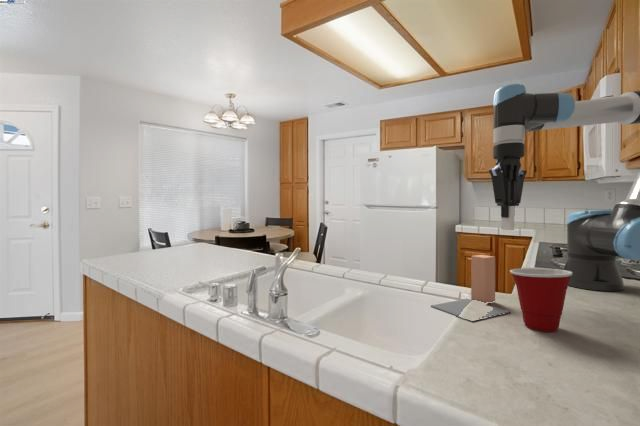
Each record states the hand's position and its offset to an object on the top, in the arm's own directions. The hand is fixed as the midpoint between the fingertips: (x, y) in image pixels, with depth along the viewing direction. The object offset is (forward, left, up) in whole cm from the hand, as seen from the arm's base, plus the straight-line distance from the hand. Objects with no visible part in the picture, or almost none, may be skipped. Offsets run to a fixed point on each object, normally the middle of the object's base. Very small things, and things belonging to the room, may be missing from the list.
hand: (507, 229), depth 90 cm
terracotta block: (+10, 0, -19) cm, 21 cm away
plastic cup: (+16, +17, -19) cm, 30 cm away
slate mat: (+19, +3, -19) cm, 27 cm away
